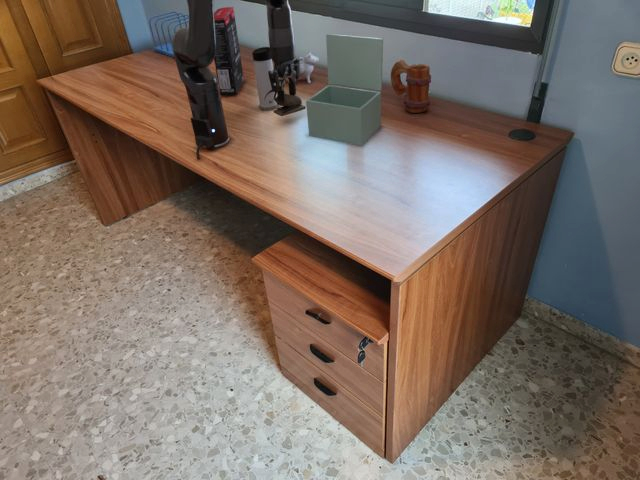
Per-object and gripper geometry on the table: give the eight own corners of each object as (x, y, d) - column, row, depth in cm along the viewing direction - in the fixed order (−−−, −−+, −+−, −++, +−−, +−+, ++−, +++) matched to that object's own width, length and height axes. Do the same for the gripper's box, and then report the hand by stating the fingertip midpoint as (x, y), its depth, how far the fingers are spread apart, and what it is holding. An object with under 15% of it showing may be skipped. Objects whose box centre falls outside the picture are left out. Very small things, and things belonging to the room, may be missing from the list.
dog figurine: (320, 82, 184) (319, 53, 177) (287, 85, 183) (284, 56, 177) (319, 77, 188) (317, 49, 181) (287, 80, 187) (284, 52, 181)
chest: (361, 145, 140) (360, 109, 133) (309, 135, 147) (305, 100, 140) (380, 127, 149) (381, 92, 142) (330, 118, 156) (328, 84, 150)
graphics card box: (228, 81, 191) (215, 7, 175) (245, 80, 191) (233, 6, 174) (220, 97, 178) (205, 19, 161) (238, 96, 177) (225, 17, 161)
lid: (382, 39, 133) (390, 34, 136) (326, 34, 140) (335, 29, 144) (380, 91, 141) (388, 85, 145) (328, 83, 149) (336, 78, 153)
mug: (435, 109, 156) (439, 62, 147) (421, 117, 152) (424, 70, 143) (398, 99, 165) (400, 55, 156) (384, 107, 160) (385, 62, 151)
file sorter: (154, 51, 232) (145, 17, 223) (185, 42, 241) (177, 9, 232) (181, 60, 217) (172, 24, 208) (212, 50, 226) (205, 16, 217)
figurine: (270, 120, 149) (267, 93, 144) (262, 116, 152) (259, 89, 147) (306, 108, 156) (304, 82, 150) (297, 105, 159) (296, 79, 153)
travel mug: (276, 110, 164) (268, 50, 152) (257, 110, 166) (248, 51, 153) (280, 103, 169) (273, 45, 157) (263, 103, 171) (254, 45, 158)
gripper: (285, 35, 147) (290, 88, 157) (257, 47, 137) (264, 104, 148) (305, 37, 144) (309, 92, 154) (278, 50, 134) (284, 107, 144)
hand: (287, 97), depth 151 cm, fingers closed on figurine, 5 cm apart
